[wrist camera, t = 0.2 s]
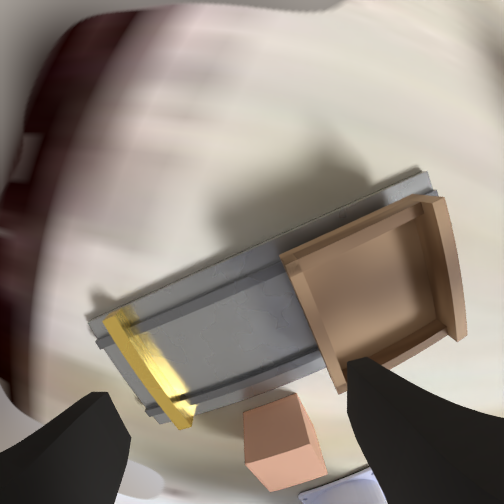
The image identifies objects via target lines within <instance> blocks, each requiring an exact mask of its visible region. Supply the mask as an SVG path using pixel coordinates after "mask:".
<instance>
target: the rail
mask: <svg viewBox="0 0 504 504" xmlns="http://www.w3.org/2000/svg"><path fill="white" fill-rule="evenodd" d="M411 194H418V195H428V196H438V193H437V190H433V188H432V184H431V181H430V178H429V175H428V172H427V171H422V172H420V173H418V174H415V175H413V176H411V177H409V178H406V179H404V180H402V181H400V182H397V183H395V184H393V185H391V186H388V187H386V188H384V189H382V190H379V191H377V192H375V193H372V194H370V195H368V196H366V197H363V198H361V199H359V200H357V201H354V202H352V203H350V204H348V205H345V206H343V207H341V208H339V209H336V210H334V211H332V212H330V213H327V214H325V215H323V216H321V217H318V218H316V219H314V220H312V221H309V222H307V223H305V224H303V225H300V226H298V227H296V228H294V229H291V230H289V231H287V232H285V233H283V234H280V235H278V236H276V237H274V238H271V239H269V240H267V241H265V242H262V243H260V244H258V245H256V246H253V247H251V248H249V249H247V250H245V251H242V252H240V253H238V254H236V255H233V256H231V257H229V258H227V259H225V260H222V261H220V262H218V263H216V264H213V265H211V266H209V267H207V268H205V269H202V270H200V271H198V272H196V273H193V274H191V275H189V276H187V277H185V278H182V279H180V280H178V281H176V282H173V283H171V284H169V285H167V286H165V287H162V288H160V289H158V290H156V291H154V292H151V293H149V294H147V295H145V296H143V297H140V298H138V299H136V300H134V301H132V302H129V303H127V304H125V305H123V306H121V307H118V308H116V309H114V310H112V311H110V312H107V313H105V314H103V315H101V316H99V317H96V318H94V319H92V320H91V321H90V322H89V323H88V324H89V326H90V327H91V329H92V331H93V332H94V334H95V335H96V337H97V340H96V341H95V342H96V344H97V345H98V347H99V348H100V349H103V348H104V350H105V351H106V353H107V354H108V356H109V357H110V359H111V360H112V362H113V363H114V365H115V366H116V368H117V369H118V370H119V372H120V373H121V375H122V376H123V378H124V379H125V380H126V382H127V383H128V385H129V386H130V387H131V389H132V390H133V391H134V393H135V394H136V395H137V397H138V398H139V399H140V401H141V402H142V403H143V404H144V406H145V407H146V409H145V412H146V413H147V415H148V416H149V417H151V416H153V417H154V418H155V419H156V421H157V422H158V423H159V424H163V423H168V422H171V421H172V422H173V423H174V425H175V426H176V427H177V428H178V429H179V430H182V429H185V428H189V427H192V422H193V416H194V415H197V414H201V413H204V412H208V411H211V410H214V409H217V408H221V407H224V406H227V405H230V404H233V403H236V402H239V401H242V400H245V399H248V398H251V397H253V396H256V395H259V394H262V393H265V392H267V391H270V390H273V389H275V388H278V387H280V386H283V385H285V384H288V383H290V382H293V381H295V380H298V379H300V378H303V377H305V376H307V375H310V374H312V373H314V372H317V371H319V370H321V369H324V368H326V365H325V363H324V360H323V358H322V355H321V353H320V350H319V348H318V346H317V343H316V341H315V338H314V336H313V334H312V331H311V329H310V327H309V324H308V322H307V319H306V317H305V315H304V312H303V310H302V308H301V305H300V303H299V301H298V298H297V296H296V294H295V291H294V289H293V287H292V284H291V282H290V280H289V277H288V275H287V273H286V270H285V268H284V266H283V264H282V261H281V259H280V257H279V255H280V254H282V253H284V252H287V251H289V250H291V249H293V248H296V247H298V246H300V245H302V244H304V243H307V242H309V241H311V240H313V239H315V238H318V237H320V236H322V235H324V234H326V233H329V232H331V231H333V230H335V229H337V228H340V227H342V226H344V225H346V224H348V223H351V222H353V221H355V220H357V219H359V218H361V217H364V216H366V215H368V214H370V213H372V212H374V211H377V210H379V209H381V208H383V207H385V206H387V205H390V204H392V203H394V202H396V201H398V200H400V199H402V198H405V197H407V196H409V195H411ZM438 197H439V196H438Z"/></svg>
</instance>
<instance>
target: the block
mask: <svg viewBox="0 0 504 504" xmlns="http://www.w3.org/2000/svg"><path fill="white" fill-rule="evenodd" d="M243 423H244V453H245V465H246V466H247V467H248V468H249V469H250V471H251V472H252V473H253V474H254V475H255V476H256V477H257V478H258V479H259V480H260V482H261V483H262V484H263V485H264V486H265V487H266V488H267V489H268V490H269V491H270V492H273V491H277V490H281V489H284V488H288V487H291V486H294V485H298V484H301V483H304V482H307V481H310V480H313V479H316V478H319V477H322V476H324V475H327V474H328V472H327V469H326V466H325V462H324V459H323V456H322V452H321V449H320V446H319V442H318V439H317V435H316V432H315V429H314V426H313V424H312V422H311V420H310V418H309V416H308V414H307V412H306V411H305V409H304V407H303V405H302V403H301V401H300V399H299V397H298V395H297V393H295V394H292V395H290V396H287V397H285V398H282V399H279V400H277V401H274V402H271V403H269V404H266V405H263V406H260V407H257V408H254V409H252V410H249V411H246V412H243Z"/></svg>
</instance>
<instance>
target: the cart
mask: <svg viewBox="0 0 504 504" xmlns="http://www.w3.org/2000/svg"><path fill="white" fill-rule="evenodd" d="M279 257H280V259H281V261H282V264H283V266H284V268H285V270H286V273H287V275H288V277H289V280H290V282H291V284H292V287H293V289H294V291H295V294H296V296H297V298H298V301H299V303H300V305H301V308H302V310H303V312H304V315H305V317H306V319H307V322H308V324H309V327H310V329H311V331H312V334H313V336H314V338H315V341H316V343H317V346H318V348H319V350H320V353H321V355H322V358H323V360H324V363H325V365H326V367H327V370H328V372H329V375H330V377H331V379H332V381H333V383H334V386H335V388H336V390H337V392H338V394H341V393H343V392H346V391H347V362H348V361H352V360H355V359H359V358H363V357H368V358H370V359H372V360H374V361H375V362H377V363H379V364H380V365H382V366H383V367H385V368H387V369H388V370H390V369H392V368H393V367H395V366H397V365H399V364H401V363H402V362H404V361H406V360H408V359H409V358H411V357H413V356H415V355H416V354H418V353H420V352H421V351H423V350H425V349H426V348H428V347H430V346H431V345H433V344H434V343H436V342H438V341H439V340H441V339H442V338H444V337H445V336H447V335H449V336H450V337H451V338H453V339H454V340H455V341H456V342H458V341H460V340H461V339H463V338H464V337H465V336H467V321H466V310H465V301H464V292H463V285H462V278H461V271H460V265H459V259H458V254H457V249H456V244H455V239H454V234H453V229H452V225H451V221H450V217H449V213H448V209H447V205H446V201H445V197H438V196H428V195H418V194H411V195H409V196H407V197H405V198H402V199H400V200H398V201H396V202H394V203H392V204H390V205H387V206H385V207H383V208H381V209H379V210H377V211H374V212H372V213H370V214H368V215H366V216H364V217H361V218H359V219H357V220H355V221H353V222H351V223H348V224H346V225H344V226H342V227H340V228H337V229H335V230H333V231H331V232H329V233H326V234H324V235H322V236H320V237H318V238H315V239H313V240H311V241H309V242H307V243H304V244H302V245H300V246H298V247H296V248H293V249H291V250H289V251H287V252H284V253H282V254H280V255H279Z"/></svg>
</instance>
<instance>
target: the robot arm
mask: <svg viewBox="0 0 504 504" xmlns="http://www.w3.org/2000/svg"><path fill="white" fill-rule="evenodd" d="M347 414H348V417H349V420H350V423H351V426H352V429H353V431H354V434H355V437H356V440H357V442H358V444H359V446H360V448H361V450H362V452H363V454H364V456H365V458H366V460H367V462H368V464H369V466H370V467H369V468H367V469H364V470H362V471H360V472H357V473H355V474H353V475H350V476H348V477H345V478H343V479H340V480H338V481H335V482H332V483H330V484H327V485H324V486H321V487H318V488H315V489H312V490H309V491H306V492H303V493H300V494H299V495H298V498H299V499H300V501H301V502H302V503H303V504H387V503H388V504H504V418H501V417H496V416H492V415H488V414H485V413H481V412H478V411H475V410H472V409H469V408H466V407H463V406H460V405H458V404H455V403H452V402H450V401H448V400H445V399H443V398H441V397H439V396H437V395H434V394H432V393H430V392H428V391H426V390H424V389H422V388H420V387H418V386H416V385H415V384H413V383H411V382H409V381H407V380H406V379H404V378H402V377H400V376H399V375H397V374H395V373H393V372H392V371H390V370H388V369H387V368H385V367H383V366H382V365H380V364H379V363H377V362H375V361H374V360H372V359H370V358H368V357H363V358H359V359H355V360H352V361H348V362H347ZM130 442H131V436H130V434H129V433H128V431H127V429H126V427H125V425H124V423H123V421H122V420H121V418H120V416H119V414H118V412H117V410H116V408H115V406H114V404H113V402H112V400H111V398H110V396H109V394H108V392H91V393H89V394H88V395H86V396H85V397H83V398H82V399H80V400H79V401H77V402H76V403H74V404H73V405H72V406H70V407H69V408H68V409H66V410H65V411H64V412H62V413H61V414H59V415H58V416H57V417H55V418H54V419H53V420H51V421H50V422H49V423H47V424H46V425H44V426H43V427H42V428H40V429H39V430H37V431H36V432H34V433H33V434H31V435H30V436H28V437H27V438H25V439H24V440H22V441H21V442H19V443H17V444H16V445H14V446H12V447H10V448H8V449H6V450H5V451H3V452H1V453H0V504H114V502H115V499H116V496H117V493H118V490H119V487H120V484H121V481H122V477H123V474H124V471H125V468H126V465H127V460H128V455H129V449H130ZM385 500H387V503H386V501H385Z"/></svg>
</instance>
